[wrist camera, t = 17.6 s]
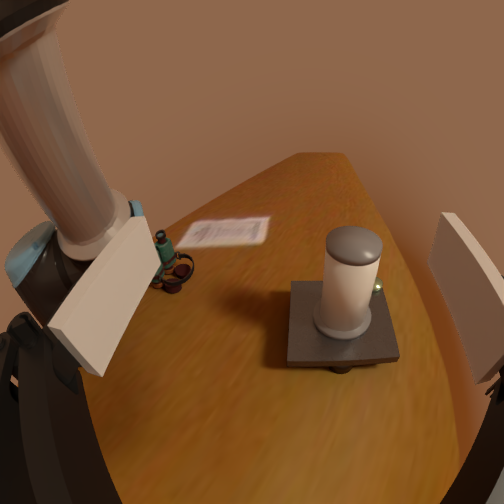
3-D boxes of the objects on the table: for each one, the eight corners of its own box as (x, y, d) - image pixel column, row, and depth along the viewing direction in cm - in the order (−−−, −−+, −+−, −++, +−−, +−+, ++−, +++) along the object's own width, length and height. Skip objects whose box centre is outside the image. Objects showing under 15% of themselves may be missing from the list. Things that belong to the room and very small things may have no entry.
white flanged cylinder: (313, 341, 36) (320, 265, 28) (312, 295, 44) (315, 222, 35) (374, 339, 35) (399, 264, 27) (365, 295, 42) (380, 222, 34)
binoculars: (175, 260, 46) (131, 249, 48) (185, 301, 52) (145, 289, 55) (198, 231, 52) (156, 224, 55) (204, 272, 59) (166, 263, 61)
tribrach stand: (287, 374, 37) (286, 358, 34) (291, 297, 49) (291, 277, 47) (391, 370, 34) (401, 353, 31) (375, 295, 47) (380, 276, 44)
